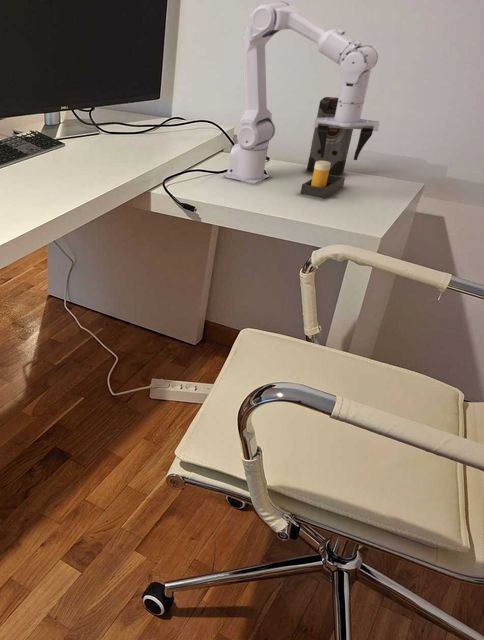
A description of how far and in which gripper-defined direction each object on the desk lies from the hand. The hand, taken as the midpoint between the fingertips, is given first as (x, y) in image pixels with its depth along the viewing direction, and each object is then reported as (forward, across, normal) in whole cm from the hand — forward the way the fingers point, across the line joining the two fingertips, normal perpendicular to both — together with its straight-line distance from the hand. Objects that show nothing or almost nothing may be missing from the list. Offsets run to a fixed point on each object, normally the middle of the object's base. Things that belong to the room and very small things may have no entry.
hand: (338, 157), depth 167 cm
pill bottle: (+10, -3, +1) cm, 10 cm away
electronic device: (+10, -2, +19) cm, 22 cm away
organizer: (+10, -2, +4) cm, 11 cm away
